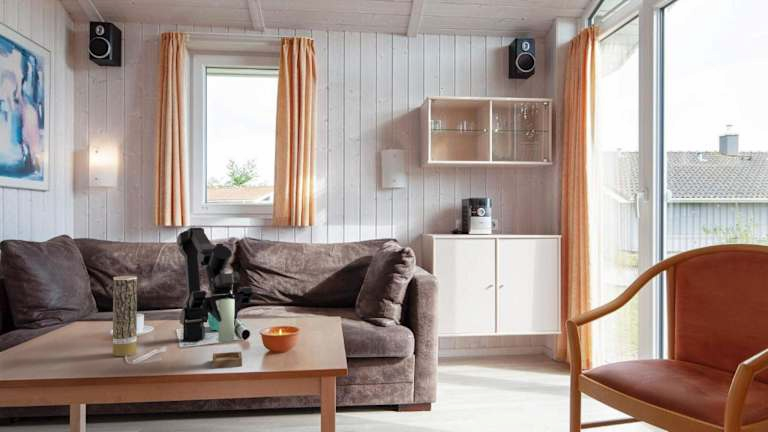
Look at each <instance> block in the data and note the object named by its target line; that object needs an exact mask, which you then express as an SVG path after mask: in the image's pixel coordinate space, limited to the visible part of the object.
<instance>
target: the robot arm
mask: <svg viewBox="0 0 768 432" xmlns="http://www.w3.org/2000/svg"><path fill="white" fill-rule="evenodd" d="M176 244H177V246H178V251H179V252H180V254H181V256H183V258H184V267H185V280H186V281H185V282H186V299H185V301H184V302H183V303H182V309H181V312H180V315H179V323H180V325H182V326H183V332H182V334H183V335H182V338H183V339H180V340H181V342H185V341H199V342H200V340H201V339H202V340H204V339H205V338H206V326H205V325H204V324H205V323H208V317H209V314H211V315H212V316H213V317H214V318H215V319H216V320H217V321H219V322H220V321H221V318H220V314H219V311H218V308H219V307H218V305H217V302H219V300H220V299H226V297H227V299H235V315H234V319H235V320H236V319H237V320H238V314H239V313H238V312H239V307H240V306H241V305H246V304H249V303H250V302H251V299H252V298H253V295H254V289H253V288H252V287H251V286H245V287H239V288H238V289H237V292H231V291H232V290H233V285H234V284H236V283H239V282H240V280H241V278H240V273H239V271H232V272H229V273H226V272H225V270H226V269H227V267H228V264H229V262H230V260H231V257H232V254H233V253H232V250H231V249H230V248H229V247H228V246H226V245H224V243H216V244H212V242H211V240H209V238H208V236H207V234H206V233H205V229H204V228H203V227H188V229H187V230H184V231H182V232H180V233H179V234H178V235H177V238H176ZM199 265H200V266H201V267H205V268H204V273H205V274H204V278H206V279H207V280H206V281H207V284H208V286H207V290H208V292H207V291H206V290H201V281H200V279H201V278H200V268H199ZM209 291H210V292H209ZM204 337H205V338H204ZM203 338H204V339H203ZM202 340H201V341H202Z"/></svg>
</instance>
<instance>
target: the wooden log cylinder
mask: <svg viewBox="0 0 768 432" xmlns="http://www.w3.org/2000/svg"><path fill="white" fill-rule="evenodd" d="M112 283H113V284H112V285H113V287H112V288H113V289H112V290H113V291H112V304H113V305H112V354H113V356H114V357H125V356H126V355H127V357H129V356H132V355H131V354H133V355H136V354H137V353H136V352H137V341H138V340H137V339H138V337H137V330H138V328H137V326H138V324H137V322H138V320H137V319H138V318H137V317H138V314H137V313H138V310H137V309H138V307H137V306H138V276H135V275H120V276H114V277H113V282H112Z"/></svg>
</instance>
